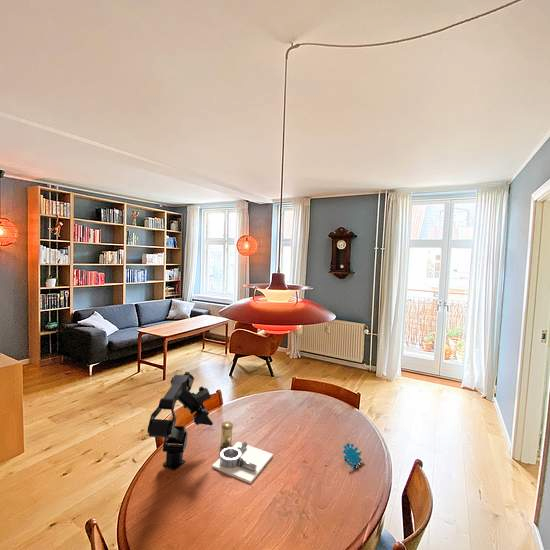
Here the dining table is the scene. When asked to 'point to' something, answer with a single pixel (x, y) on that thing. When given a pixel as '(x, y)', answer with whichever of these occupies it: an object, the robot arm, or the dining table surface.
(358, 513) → the dining table surface
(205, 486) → the dining table surface
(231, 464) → the steel cradle
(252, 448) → the mounting plate
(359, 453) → the gear
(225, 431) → the cylinder
